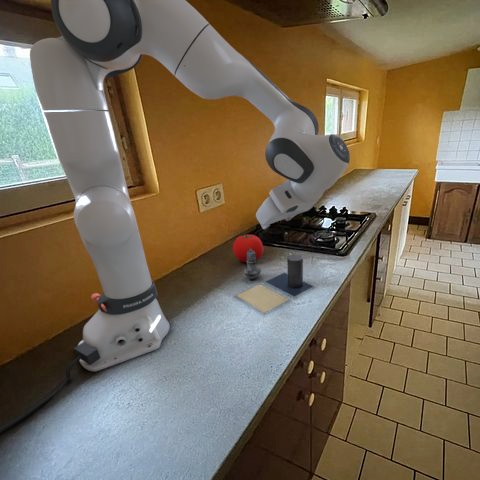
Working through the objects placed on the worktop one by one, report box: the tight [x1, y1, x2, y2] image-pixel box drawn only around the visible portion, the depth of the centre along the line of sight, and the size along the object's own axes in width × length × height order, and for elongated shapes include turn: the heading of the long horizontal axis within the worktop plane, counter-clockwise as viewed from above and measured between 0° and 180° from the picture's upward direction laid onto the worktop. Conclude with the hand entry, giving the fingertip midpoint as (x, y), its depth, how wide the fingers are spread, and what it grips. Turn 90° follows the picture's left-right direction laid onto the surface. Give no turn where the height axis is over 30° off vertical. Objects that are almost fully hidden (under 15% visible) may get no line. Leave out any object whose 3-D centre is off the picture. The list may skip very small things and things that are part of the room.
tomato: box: [232, 233, 264, 263], centre depth 119 cm, size 12×12×10 cm
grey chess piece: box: [243, 248, 262, 282], centre depth 104 cm, size 6×6×12 cm
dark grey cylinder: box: [286, 254, 304, 289], centre depth 99 cm, size 5×5×10 cm
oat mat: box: [235, 283, 289, 314], centre depth 95 cm, size 10×14×1 cm
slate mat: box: [265, 272, 314, 298], centre depth 102 cm, size 9×14×1 cm, turn 42°
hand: (275, 222), depth 88 cm, fingers open, 8 cm apart
